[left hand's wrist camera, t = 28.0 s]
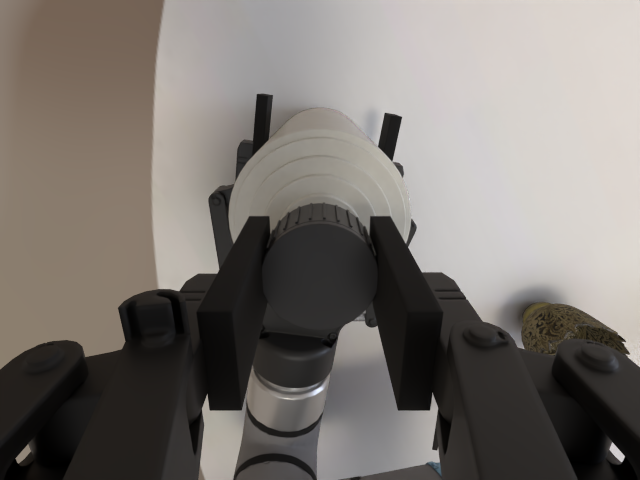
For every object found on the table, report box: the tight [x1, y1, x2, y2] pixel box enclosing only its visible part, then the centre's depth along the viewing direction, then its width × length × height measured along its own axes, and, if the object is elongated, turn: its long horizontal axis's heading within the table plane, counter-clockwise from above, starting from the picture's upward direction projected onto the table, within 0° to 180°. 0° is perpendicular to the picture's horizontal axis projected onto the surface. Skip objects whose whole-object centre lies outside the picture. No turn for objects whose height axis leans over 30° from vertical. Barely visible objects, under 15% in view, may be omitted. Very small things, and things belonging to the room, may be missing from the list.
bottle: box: [229, 108, 411, 243], centre depth 24 cm, size 8×8×23 cm
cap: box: [262, 202, 378, 330], centre depth 13 cm, size 4×4×2 cm
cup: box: [521, 302, 630, 357], centre depth 37 cm, size 8×7×8 cm
